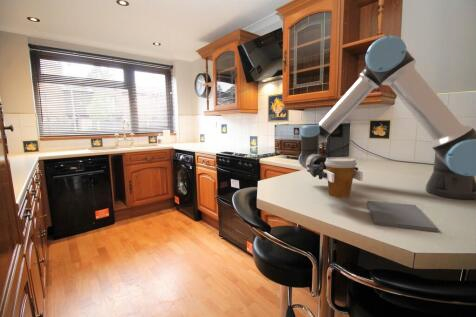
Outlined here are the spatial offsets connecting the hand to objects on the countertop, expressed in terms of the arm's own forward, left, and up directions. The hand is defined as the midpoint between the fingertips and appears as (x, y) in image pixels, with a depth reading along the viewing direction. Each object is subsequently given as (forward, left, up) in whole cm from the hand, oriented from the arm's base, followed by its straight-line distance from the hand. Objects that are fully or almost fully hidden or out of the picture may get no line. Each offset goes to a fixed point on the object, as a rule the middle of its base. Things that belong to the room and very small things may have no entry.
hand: (347, 177), depth 72 cm
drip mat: (-14, -3, -12) cm, 19 cm away
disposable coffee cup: (+2, -4, -7) cm, 9 cm away
